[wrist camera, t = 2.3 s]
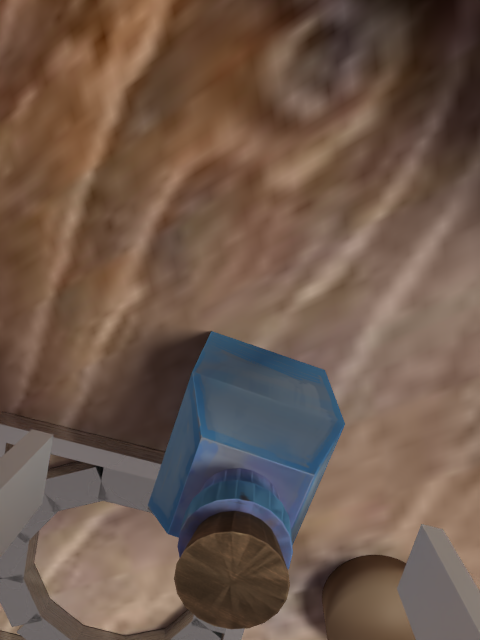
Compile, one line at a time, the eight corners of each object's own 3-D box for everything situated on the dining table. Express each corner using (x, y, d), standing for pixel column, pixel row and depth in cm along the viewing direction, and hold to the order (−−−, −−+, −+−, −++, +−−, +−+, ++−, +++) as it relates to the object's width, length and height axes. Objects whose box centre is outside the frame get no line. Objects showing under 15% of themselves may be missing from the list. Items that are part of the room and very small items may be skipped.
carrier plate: (2, 411, 25) (-50, 450, 21) (284, 482, 25) (287, 534, 21) (-32, 684, 30) (-80, 760, 25) (205, 744, 30) (195, 828, 25)
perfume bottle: (176, 434, 25) (95, 632, 13) (211, 331, 23) (155, 448, 12) (283, 470, 25) (298, 698, 13) (324, 370, 23) (383, 526, 12)
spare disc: (338, 541, 26) (345, 575, 23) (440, 567, 26) (458, 604, 23) (309, 623, 27) (314, 664, 25) (406, 647, 27) (420, 690, 25)
